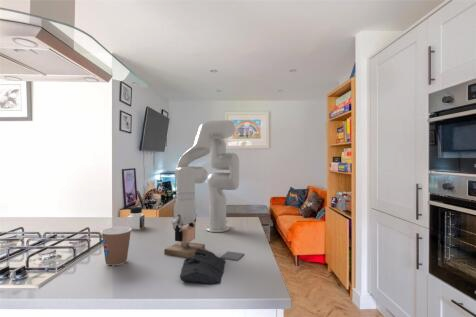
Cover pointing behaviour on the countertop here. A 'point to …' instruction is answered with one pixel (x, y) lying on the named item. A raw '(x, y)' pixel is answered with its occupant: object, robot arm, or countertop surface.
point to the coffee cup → (116, 244)
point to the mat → (232, 255)
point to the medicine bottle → (135, 218)
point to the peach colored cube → (188, 234)
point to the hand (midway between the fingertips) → (185, 237)
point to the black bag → (203, 268)
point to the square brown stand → (184, 249)
